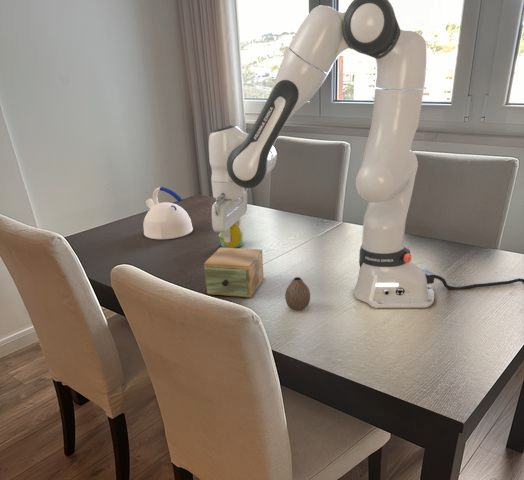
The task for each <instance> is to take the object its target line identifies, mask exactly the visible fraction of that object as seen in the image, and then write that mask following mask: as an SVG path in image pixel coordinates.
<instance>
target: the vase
mask: <svg viewBox="0 0 524 480" xmlns="http://www.w3.org/2000/svg"><path fill="white" fill-rule="evenodd" d="M284 299H285V303H286V305H287V307H288V308H289V309H291V310H292V311H296V312H302V311H303V310H305V309H306V308H308V306H309V304H310V301H311V291H310V288H309V286H308V285H307V284H306V283H305V281H304V279H303V278H302V277H299V276H296V277H293V278H292V280H291V282H290V283H289V285H288V286H287V287H286V289H285V294H284Z"/></svg>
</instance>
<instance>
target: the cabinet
mask: <svg viewBox="0 0 524 480" xmlns="http://www.w3.org/2000/svg"><path fill="white" fill-rule="evenodd" d="M263 258H264V257H263V249H256V248H241V247H240V248H239V247H237V248H223V247H222V246H220V247H219V248H218V249H217V250H215V252H214V253H213V254H211V255H210V257H209V258H207V259H206V261H204V262H203V268H204V269H203V270H204V271H205V267H223V268H239V269H247V279H248V293H249V295H248V296H239V295H227V294H214V293H207V292H206V293H207V295H214V296H228V297H240V298H252V297H253V295H254V294H255V292H256V291H257V289H258V288H259V287H260V285H261V284H262V282H263V281H264V278H265V277H264V259H263ZM204 277H205V276H204ZM205 279H206V277H205ZM205 285H206V284H205ZM206 288H207V285H206Z"/></svg>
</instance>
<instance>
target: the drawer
mask: <svg viewBox="0 0 524 480" xmlns="http://www.w3.org/2000/svg"><path fill="white" fill-rule="evenodd" d="M204 277H206V278H205V285H207V287H206V293H214V294H227V295H239V296H248V295H249V293H248V279H247V269H239V268H223V267H205V270H204ZM214 294H213V295H214ZM239 296H238V297H239Z"/></svg>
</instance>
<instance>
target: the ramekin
mask: <svg viewBox="0 0 524 480" xmlns="http://www.w3.org/2000/svg"><path fill="white" fill-rule="evenodd" d="M243 235H244V233H243V232H242V231H241V241H240V243H239V244H238V245H237V246H235V247H234V248H239V247H240V248H241V246H242V245H243ZM218 237H219V241H220V247H221V248H231V247H230V246H228V245H226V244H225V242H224V240H223V236H222V232H219V234H218Z"/></svg>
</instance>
